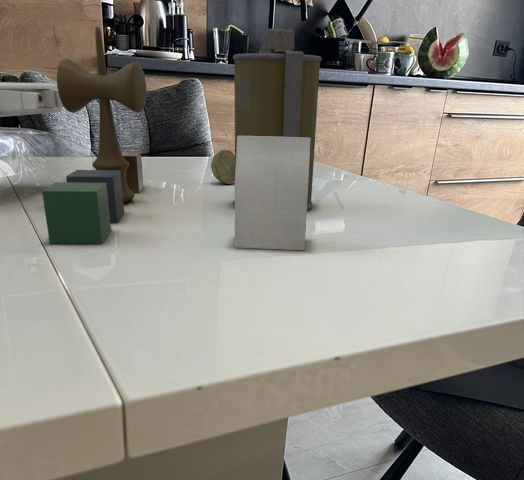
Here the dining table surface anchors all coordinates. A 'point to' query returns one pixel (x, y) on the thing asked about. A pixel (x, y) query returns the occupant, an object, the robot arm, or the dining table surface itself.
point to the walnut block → (134, 171)
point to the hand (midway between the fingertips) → (59, 100)
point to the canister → (277, 93)
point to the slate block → (113, 188)
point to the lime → (224, 167)
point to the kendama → (104, 103)
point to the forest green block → (77, 213)
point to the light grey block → (271, 192)
